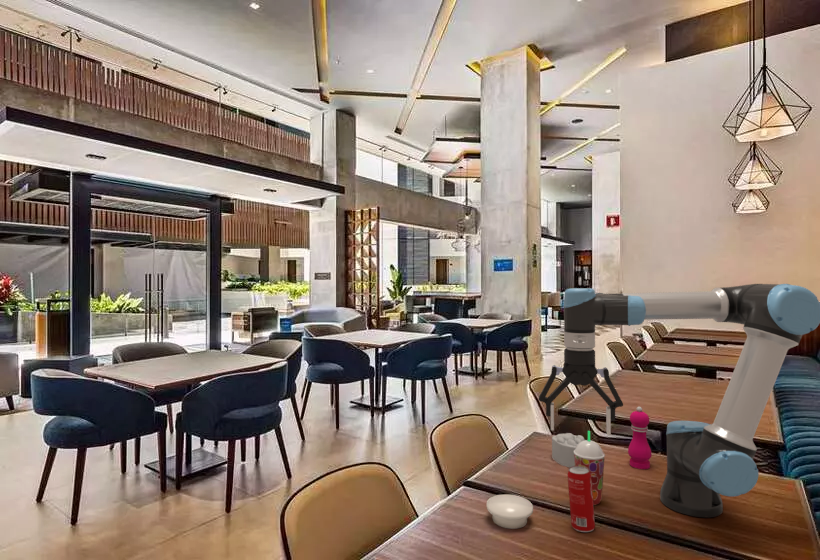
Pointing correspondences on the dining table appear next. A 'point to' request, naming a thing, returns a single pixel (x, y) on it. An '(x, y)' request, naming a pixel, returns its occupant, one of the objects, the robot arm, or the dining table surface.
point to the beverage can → (581, 499)
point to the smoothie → (591, 465)
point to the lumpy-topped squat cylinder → (565, 448)
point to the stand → (509, 510)
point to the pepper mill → (639, 440)
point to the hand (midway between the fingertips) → (579, 431)
